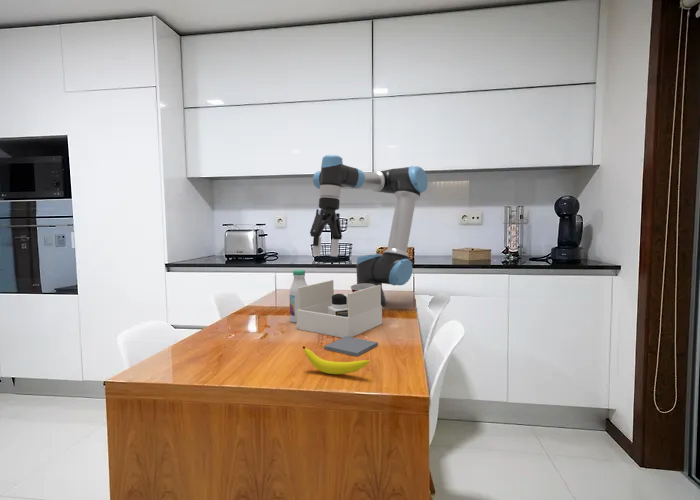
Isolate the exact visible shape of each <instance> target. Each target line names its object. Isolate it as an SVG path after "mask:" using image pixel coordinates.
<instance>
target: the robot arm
mask: <svg viewBox="0 0 700 500" xmlns="http://www.w3.org/2000/svg"><path fill="white" fill-rule="evenodd" d="M343 162H344V161H343V157H341V156H340V155H336V154H326V155H324V156H323V157H322V159H321V166H320V170H318V171H316V172H315V173H314V174H313V177H312V184H313V185H314V186H315V188H316V189H319V190H318V191H319V198H318V208H317V209H316V211H315V212H316V213H315V216H314V220H313V222H312V225H311V229H310V230H309V234H310V237H312V238H313V243H312V255H311V256H317V257H321V248H322V247H321V246H322V237H321V236H322V233H323V231H324V229H325V227H326V226H328V227H329V230H330V233H331V237H332V238H331V242H330V253H329V254H330V255H329V256H330V257H336V258H337V257H338V256H339V253H338V252H339V240H342V238H343V235H342V227H341V226H342V225H341V221H340V218H341V217H340V216H341V215H340V213H336V211H338V210H340V199H341V190H371V191H372V192H375V193H386V194H393V195H394V196H395V198H396V200H395V206H394V212H393V217H392V222H391V228H390V232H389V238H388V244H387V249H386V250H384V251H383V253H376V254H375V253H374V254H365V255H359V256H358V257H357V258H356V265H355V266H356V284H363V283H365V284H374V285H376V286H377V285H381V305H382V307H383V306H385V305H386V304H387V303H386V302H387V300H386V296H385V292H384V290H383V284H385V285H391V286H403V285H406V283H408V282H409V281H410V280H411V277H412V273H413V264H412V261H411V260H410V255H409V254H408V253H407V252H408V251H407V250H408V245H409V241H410V235H411V229H412V225H413V224H412V223H413V220H414V219H413V218H414V211H415V207H416V202H417V201H419V200H420V197H421V193H424V192H425V191H426V190H427V188H428V183H429V182H428V177H427V173H426V171H425V170H424V169H423V168H422V167H420V166H418V165H417V166H407V167H406V166H405V167H399V168H398V167H397V168H390V169H389V168H388V169H385V170H375V171H372V172H367V171H366V172H365V171H363V170H362V169H359V168H356V167H353V166H350V165H346V164H343Z"/></svg>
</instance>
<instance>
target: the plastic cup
mask: <svg viewBox="0 0 700 500" xmlns="http://www.w3.org/2000/svg"><path fill="white" fill-rule="evenodd" d="M373 286H376V285H374V284H365V283H363V284H357V283H355V284H353V285H350V289H351V293H352V292H356V291H359V290H363V289H366V288H370V287H373Z"/></svg>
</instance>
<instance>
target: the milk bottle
mask: <svg viewBox="0 0 700 500" xmlns="http://www.w3.org/2000/svg"><path fill="white" fill-rule="evenodd" d="M292 274H293V275H292V276H293V279H292V280H293V281H292V283H291V286H290V288H289V289H290V290H289V321H290V322H291V323H294V324H297V310H298V288H299V287H304V286H308V284H307V281H306V279H305V277H306V270H304V269H294V270H293V271H292Z"/></svg>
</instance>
